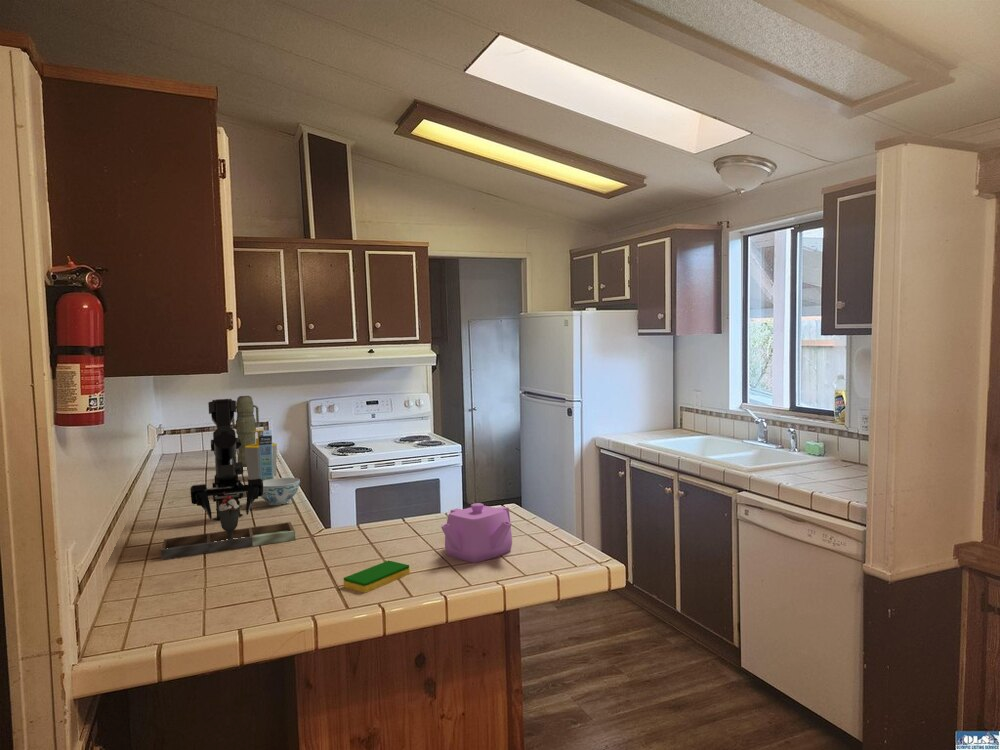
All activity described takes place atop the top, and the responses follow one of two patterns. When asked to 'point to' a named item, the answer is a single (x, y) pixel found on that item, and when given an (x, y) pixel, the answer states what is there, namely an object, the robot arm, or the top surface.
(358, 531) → the top surface
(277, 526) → the tray
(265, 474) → the blue flat box
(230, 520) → the sundae
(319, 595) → the top surface
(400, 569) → the dish sponge
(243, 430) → the thermos
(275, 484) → the chinaware
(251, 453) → the soap bottle
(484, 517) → the teakettle
